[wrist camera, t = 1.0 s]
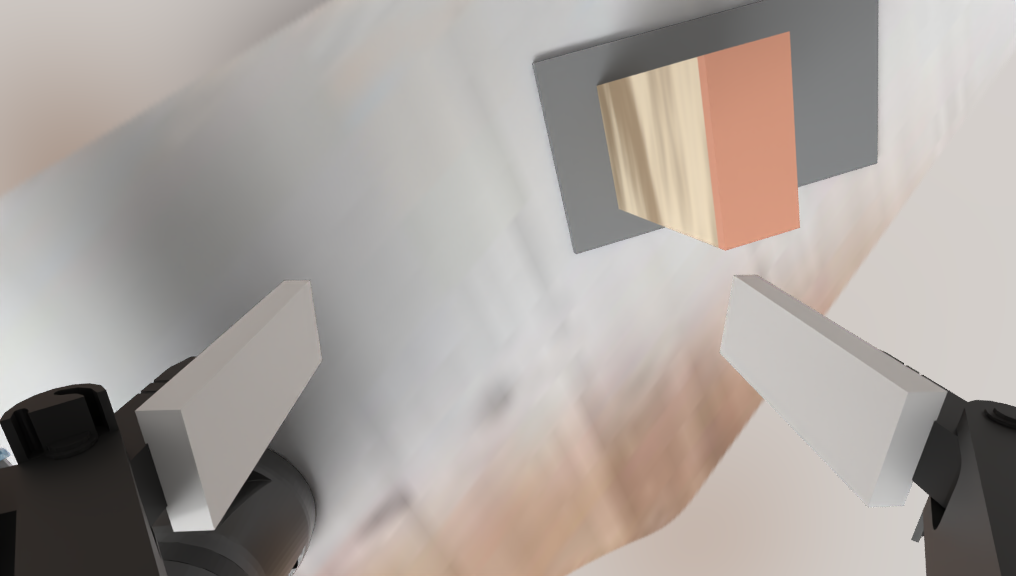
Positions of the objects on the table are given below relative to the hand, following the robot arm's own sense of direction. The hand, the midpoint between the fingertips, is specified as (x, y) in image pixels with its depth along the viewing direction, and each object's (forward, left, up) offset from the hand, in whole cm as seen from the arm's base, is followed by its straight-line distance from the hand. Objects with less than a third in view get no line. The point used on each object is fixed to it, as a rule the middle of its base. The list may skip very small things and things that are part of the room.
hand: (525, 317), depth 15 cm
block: (+13, +2, -21) cm, 25 cm away
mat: (+20, +2, -22) cm, 30 cm away
